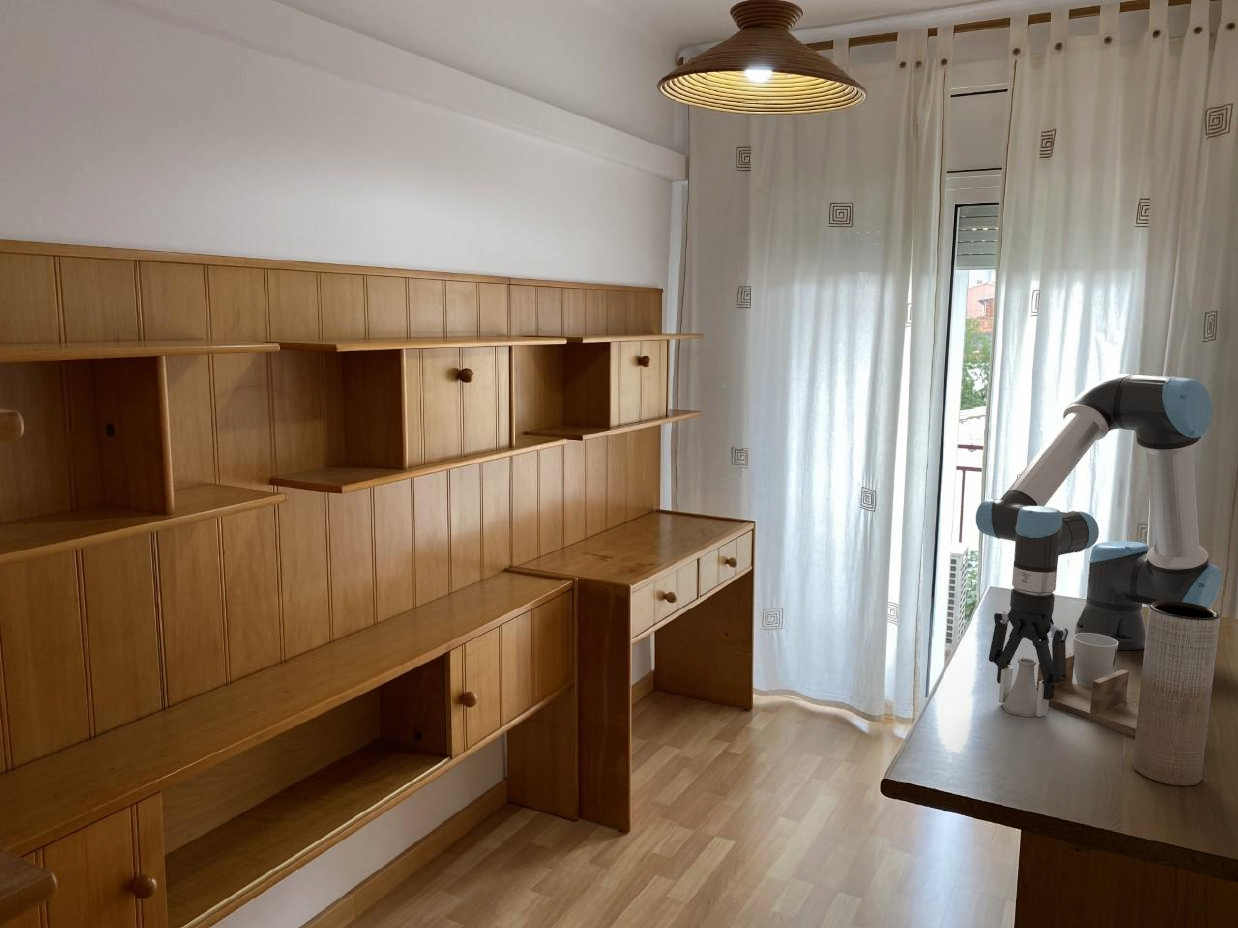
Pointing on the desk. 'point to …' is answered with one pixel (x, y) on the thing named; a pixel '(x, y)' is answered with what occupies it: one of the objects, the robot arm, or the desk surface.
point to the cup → (1093, 657)
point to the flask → (1023, 691)
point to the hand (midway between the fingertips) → (1022, 707)
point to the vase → (1175, 692)
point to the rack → (1096, 699)
